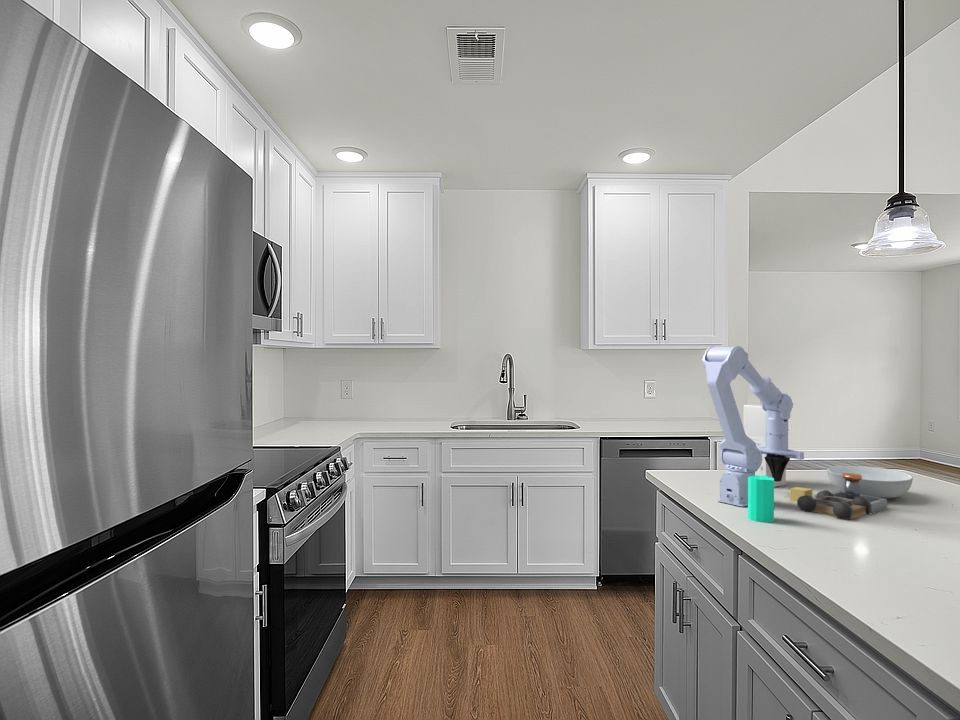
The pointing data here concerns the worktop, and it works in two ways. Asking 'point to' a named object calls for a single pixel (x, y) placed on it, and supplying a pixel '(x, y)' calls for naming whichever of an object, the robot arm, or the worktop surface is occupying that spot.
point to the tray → (875, 502)
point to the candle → (761, 498)
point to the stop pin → (852, 485)
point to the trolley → (834, 505)
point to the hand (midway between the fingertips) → (777, 480)
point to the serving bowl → (873, 480)
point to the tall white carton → (759, 436)
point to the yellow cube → (799, 493)
